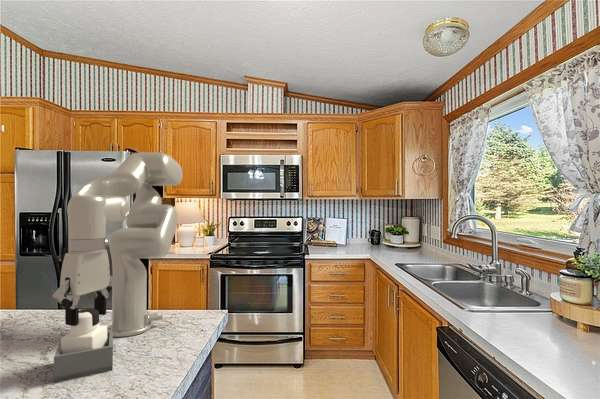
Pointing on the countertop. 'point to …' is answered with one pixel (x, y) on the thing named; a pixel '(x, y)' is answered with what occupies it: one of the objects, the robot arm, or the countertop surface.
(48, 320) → the countertop surface
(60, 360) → the bin
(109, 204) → the robot arm
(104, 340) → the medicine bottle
